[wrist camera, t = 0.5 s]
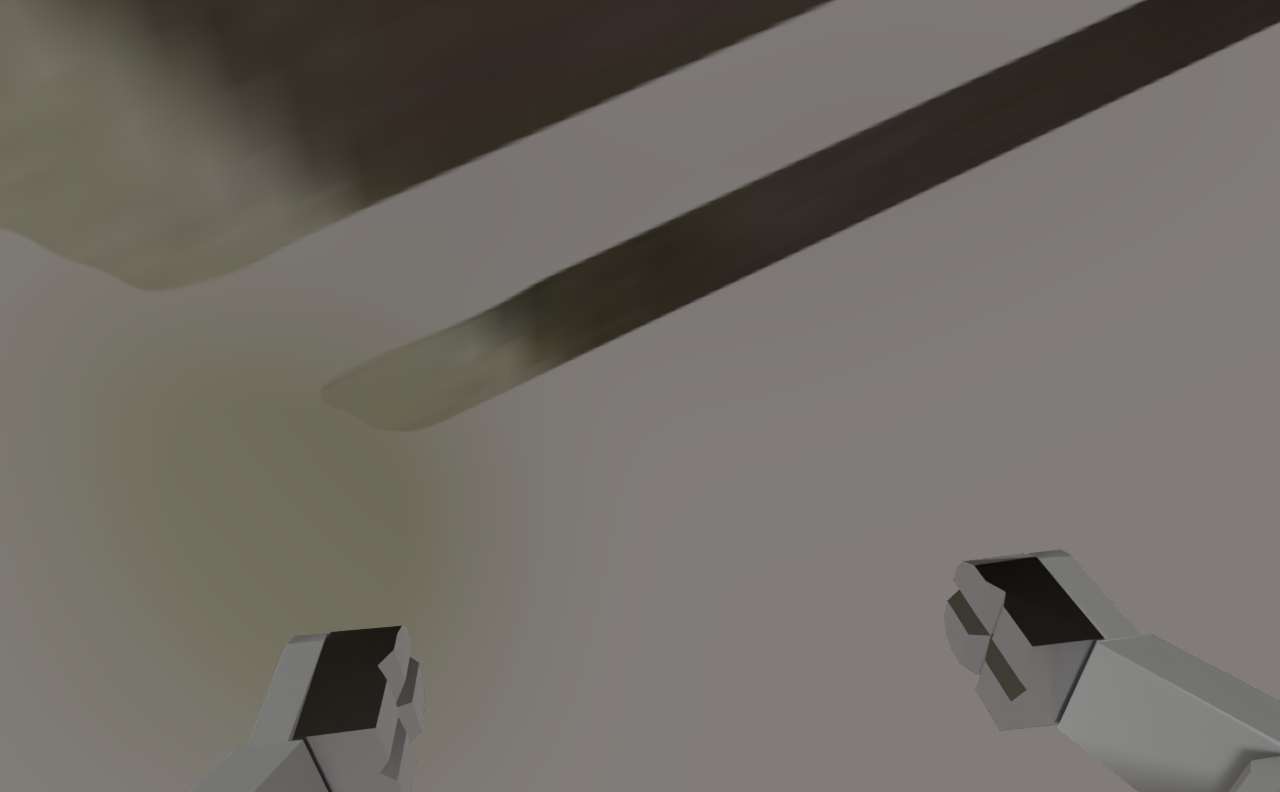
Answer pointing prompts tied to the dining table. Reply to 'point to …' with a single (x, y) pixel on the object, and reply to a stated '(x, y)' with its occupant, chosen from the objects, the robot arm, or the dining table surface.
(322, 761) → the robot arm
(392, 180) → the dining table surface
